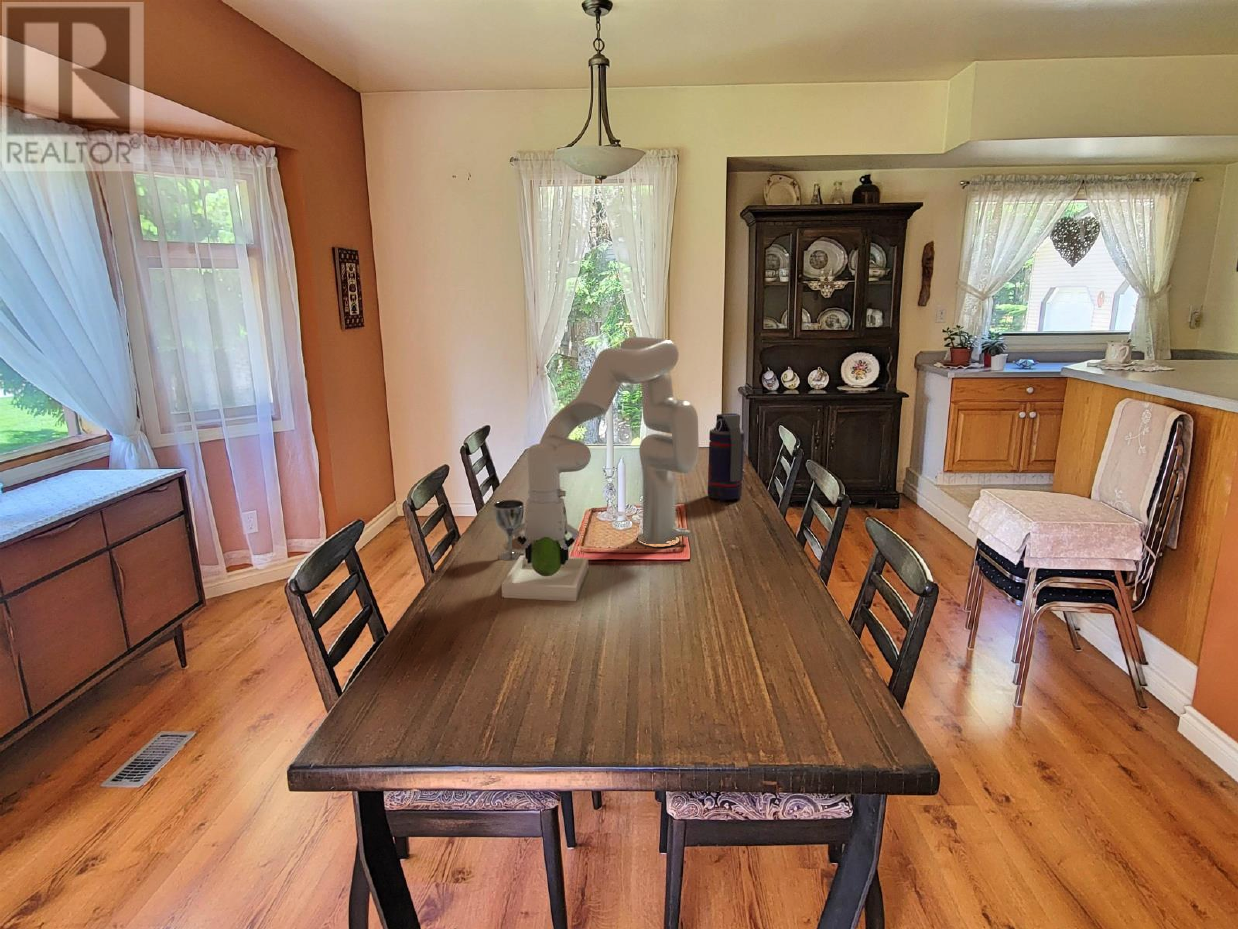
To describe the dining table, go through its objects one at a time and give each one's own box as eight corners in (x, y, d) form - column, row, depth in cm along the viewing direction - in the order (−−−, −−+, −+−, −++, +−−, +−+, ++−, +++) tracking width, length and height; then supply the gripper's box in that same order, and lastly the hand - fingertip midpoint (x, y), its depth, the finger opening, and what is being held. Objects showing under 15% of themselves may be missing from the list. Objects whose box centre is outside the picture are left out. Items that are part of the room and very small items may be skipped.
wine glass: (519, 562, 183) (517, 509, 180) (492, 559, 185) (489, 507, 181) (529, 551, 191) (527, 500, 187) (502, 549, 192) (500, 498, 189)
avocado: (558, 582, 165) (556, 536, 162) (527, 580, 166) (525, 534, 163) (567, 569, 172) (565, 525, 169) (537, 567, 174) (535, 523, 171)
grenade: (702, 494, 242) (704, 411, 235) (732, 491, 246) (735, 409, 238) (718, 506, 230) (722, 419, 222) (750, 502, 233) (754, 416, 225)
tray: (588, 570, 178) (588, 558, 177) (576, 601, 160) (575, 587, 159) (521, 567, 180) (520, 555, 179) (502, 597, 162) (501, 584, 161)
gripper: (582, 491, 167) (584, 557, 171) (513, 489, 169) (516, 555, 173) (577, 500, 160) (579, 569, 164) (505, 498, 162) (509, 566, 166)
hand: (547, 561), depth 169 cm, fingers closed on avocado, 8 cm apart
